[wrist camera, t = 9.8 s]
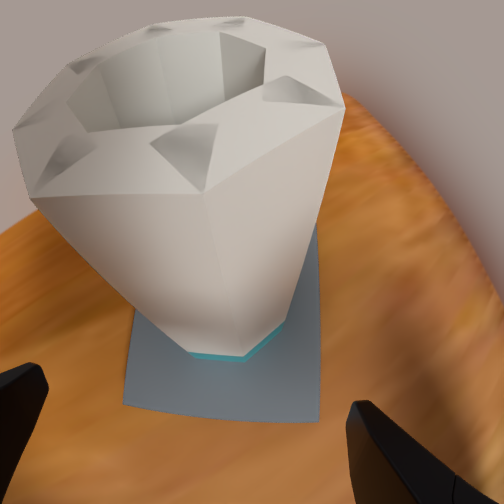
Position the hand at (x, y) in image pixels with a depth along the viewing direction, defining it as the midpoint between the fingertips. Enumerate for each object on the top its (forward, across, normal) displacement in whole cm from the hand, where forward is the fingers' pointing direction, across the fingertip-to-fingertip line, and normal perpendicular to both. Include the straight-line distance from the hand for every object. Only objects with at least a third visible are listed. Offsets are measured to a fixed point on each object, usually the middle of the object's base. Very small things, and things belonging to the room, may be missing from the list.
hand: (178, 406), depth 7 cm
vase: (+9, 0, +1) cm, 9 cm away
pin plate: (+11, 0, +1) cm, 11 cm away
